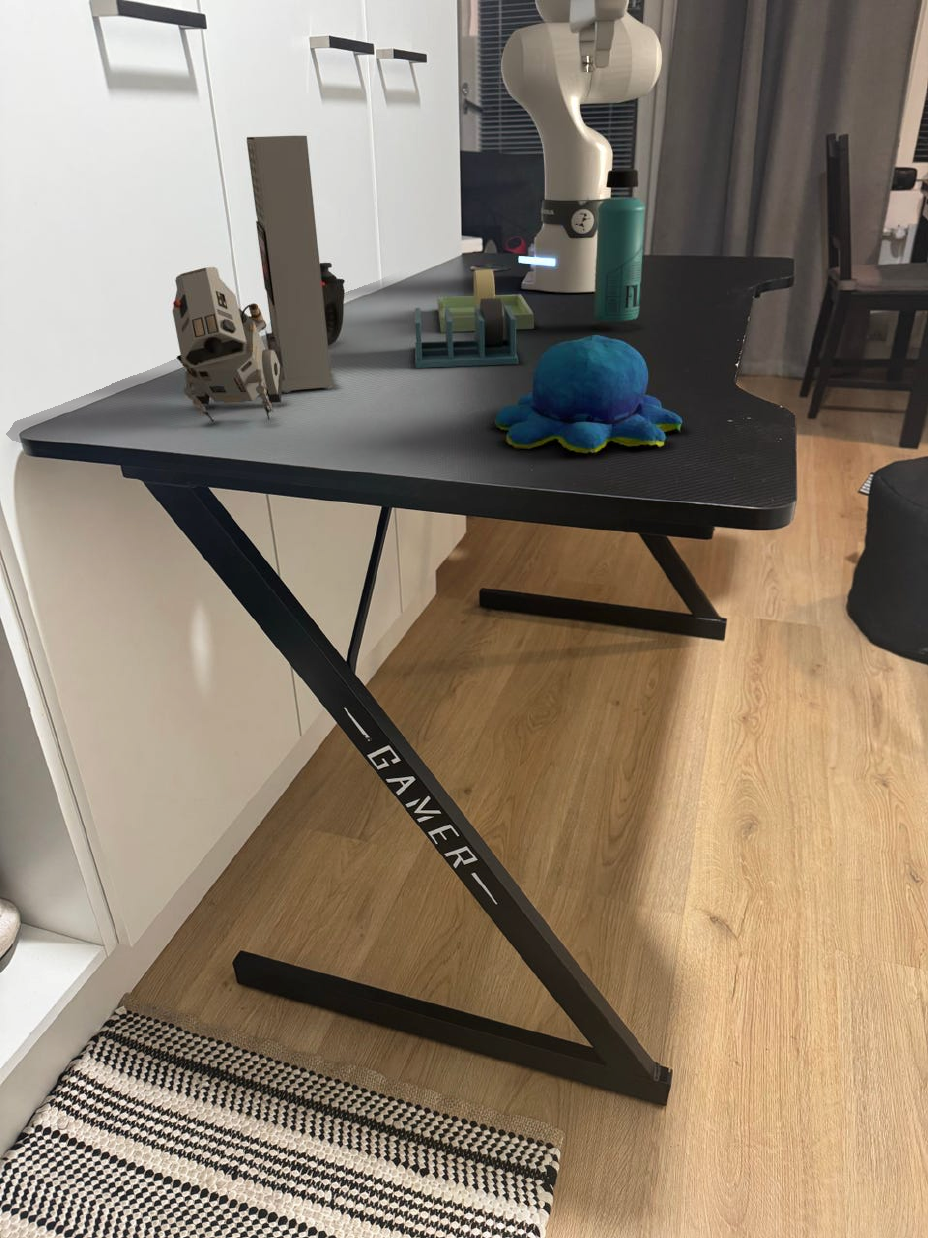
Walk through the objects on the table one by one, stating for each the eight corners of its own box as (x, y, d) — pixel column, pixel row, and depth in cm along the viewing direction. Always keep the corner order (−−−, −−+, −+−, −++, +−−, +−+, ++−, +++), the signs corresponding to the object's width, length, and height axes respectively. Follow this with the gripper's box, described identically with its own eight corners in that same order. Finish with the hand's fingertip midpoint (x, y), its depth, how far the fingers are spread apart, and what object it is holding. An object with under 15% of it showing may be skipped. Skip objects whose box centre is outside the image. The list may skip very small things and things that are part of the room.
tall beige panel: (269, 366, 110) (238, 137, 97) (318, 362, 111) (294, 135, 99) (278, 394, 98) (244, 137, 86) (333, 388, 99) (308, 135, 87)
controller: (353, 337, 124) (347, 260, 119) (315, 357, 113) (306, 274, 108) (325, 336, 125) (318, 260, 120) (285, 355, 114) (274, 274, 110)
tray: (438, 310, 140) (437, 297, 139) (520, 307, 140) (520, 294, 140) (440, 332, 125) (440, 317, 124) (533, 328, 125) (533, 314, 125)
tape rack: (415, 348, 116) (413, 307, 114) (509, 344, 117) (509, 303, 114) (415, 368, 107) (413, 323, 104) (517, 364, 107) (518, 319, 105)
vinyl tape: (480, 345, 114) (479, 296, 111) (499, 344, 114) (498, 295, 111) (484, 352, 109) (483, 301, 106) (503, 352, 109) (503, 300, 106)
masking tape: (474, 316, 135) (473, 272, 134) (491, 316, 135) (490, 271, 134) (477, 314, 129) (475, 267, 127) (495, 313, 129) (493, 266, 128)
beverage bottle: (625, 334, 121) (634, 169, 111) (582, 329, 124) (588, 169, 114) (647, 325, 125) (658, 167, 115) (605, 321, 129) (613, 167, 119)
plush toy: (645, 467, 74) (653, 366, 70) (467, 442, 81) (464, 349, 77) (699, 414, 87) (708, 326, 83) (541, 396, 94) (542, 315, 90)
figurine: (193, 451, 92) (143, 352, 78) (203, 363, 96) (158, 256, 83) (280, 449, 92) (246, 349, 78) (287, 361, 96) (255, 253, 83)
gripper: (560, -52, 113) (557, 75, 120) (587, -85, 95) (582, 65, 102) (608, -53, 114) (603, 73, 120) (645, -87, 96) (636, 64, 102)
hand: (594, 70), depth 111 cm, fingers open, 8 cm apart
